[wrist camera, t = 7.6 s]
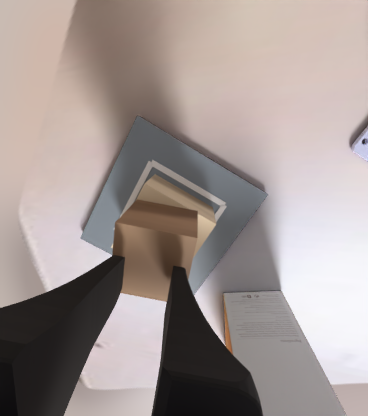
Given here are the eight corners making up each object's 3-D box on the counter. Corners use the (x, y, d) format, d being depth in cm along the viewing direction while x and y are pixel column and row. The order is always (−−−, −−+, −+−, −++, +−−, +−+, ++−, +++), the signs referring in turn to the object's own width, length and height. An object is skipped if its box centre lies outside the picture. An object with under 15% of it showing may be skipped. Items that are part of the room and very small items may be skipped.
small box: (221, 291, 24) (246, 458, 12) (282, 289, 23) (376, 462, 11) (224, 347, 26) (246, 534, 14) (279, 346, 26) (353, 541, 13)
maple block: (155, 174, 20) (144, 183, 16) (212, 207, 20) (216, 224, 16) (126, 227, 21) (110, 247, 18) (180, 256, 22) (176, 282, 18)
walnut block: (137, 199, 16) (114, 222, 12) (197, 210, 16) (197, 238, 12) (130, 252, 18) (109, 290, 13) (186, 263, 18) (182, 304, 13)
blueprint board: (139, 116, 19) (136, 115, 18) (265, 192, 20) (268, 194, 19) (84, 234, 23) (79, 238, 22) (192, 291, 24) (192, 297, 23)
